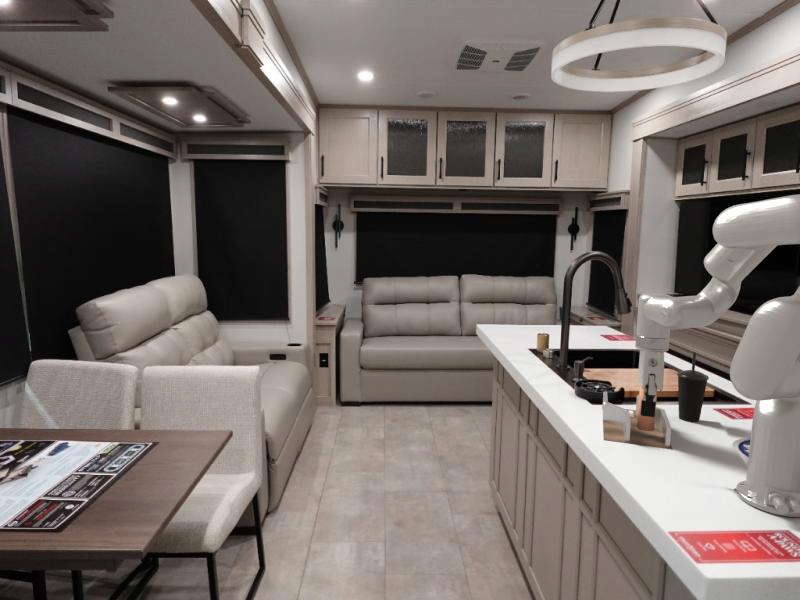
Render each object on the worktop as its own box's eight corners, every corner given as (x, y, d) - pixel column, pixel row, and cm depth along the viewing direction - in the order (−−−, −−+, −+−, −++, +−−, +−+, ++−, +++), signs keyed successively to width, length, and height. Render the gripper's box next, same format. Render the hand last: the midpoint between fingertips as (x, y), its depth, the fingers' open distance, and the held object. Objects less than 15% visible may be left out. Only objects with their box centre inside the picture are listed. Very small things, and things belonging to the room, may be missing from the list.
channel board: (672, 453, 125) (672, 449, 125) (603, 443, 130) (603, 439, 130) (660, 416, 149) (660, 412, 149) (602, 409, 154) (602, 406, 154)
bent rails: (669, 447, 126) (671, 427, 125) (603, 438, 131) (604, 419, 130) (658, 414, 148) (660, 397, 147) (602, 407, 153) (603, 391, 152)
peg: (654, 432, 130) (658, 386, 128) (637, 430, 131) (640, 384, 129) (653, 426, 133) (656, 381, 132) (636, 424, 135) (639, 379, 133)
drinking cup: (669, 422, 145) (675, 352, 142) (678, 415, 150) (683, 347, 147) (699, 429, 139) (706, 357, 136) (707, 422, 145) (714, 352, 142)
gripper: (673, 351, 120) (667, 426, 123) (664, 337, 135) (659, 404, 138) (638, 348, 123) (632, 422, 125) (633, 334, 138) (628, 400, 141)
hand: (646, 412), depth 132 cm, fingers closed on peg, 4 cm apart
